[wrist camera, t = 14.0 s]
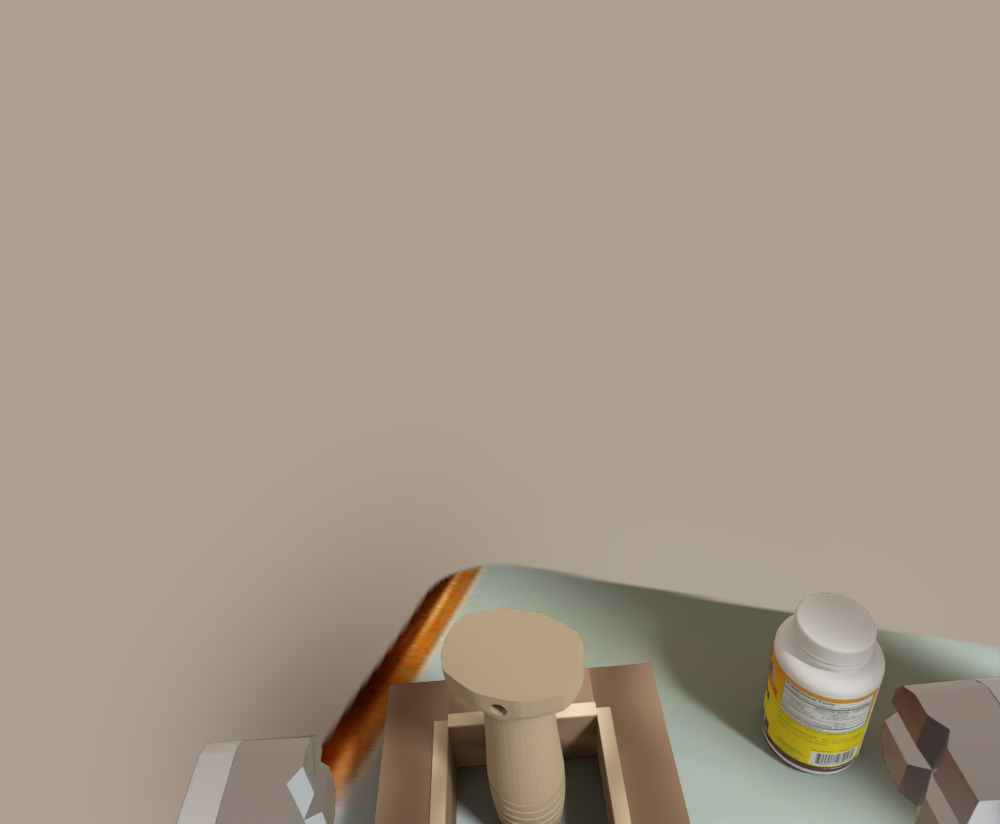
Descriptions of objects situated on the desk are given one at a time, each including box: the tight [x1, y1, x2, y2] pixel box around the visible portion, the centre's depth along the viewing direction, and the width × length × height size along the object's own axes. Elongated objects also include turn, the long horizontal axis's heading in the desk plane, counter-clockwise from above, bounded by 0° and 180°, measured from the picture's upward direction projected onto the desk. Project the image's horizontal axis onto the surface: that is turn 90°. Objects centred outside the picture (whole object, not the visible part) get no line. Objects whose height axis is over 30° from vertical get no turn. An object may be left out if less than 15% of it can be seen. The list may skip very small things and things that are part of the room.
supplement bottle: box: [762, 593, 885, 775], centre depth 41 cm, size 6×6×10 cm
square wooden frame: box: [374, 663, 690, 824], centre depth 39 cm, size 16×14×4 cm
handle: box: [441, 608, 585, 824], centre depth 36 cm, size 5×6×15 cm
